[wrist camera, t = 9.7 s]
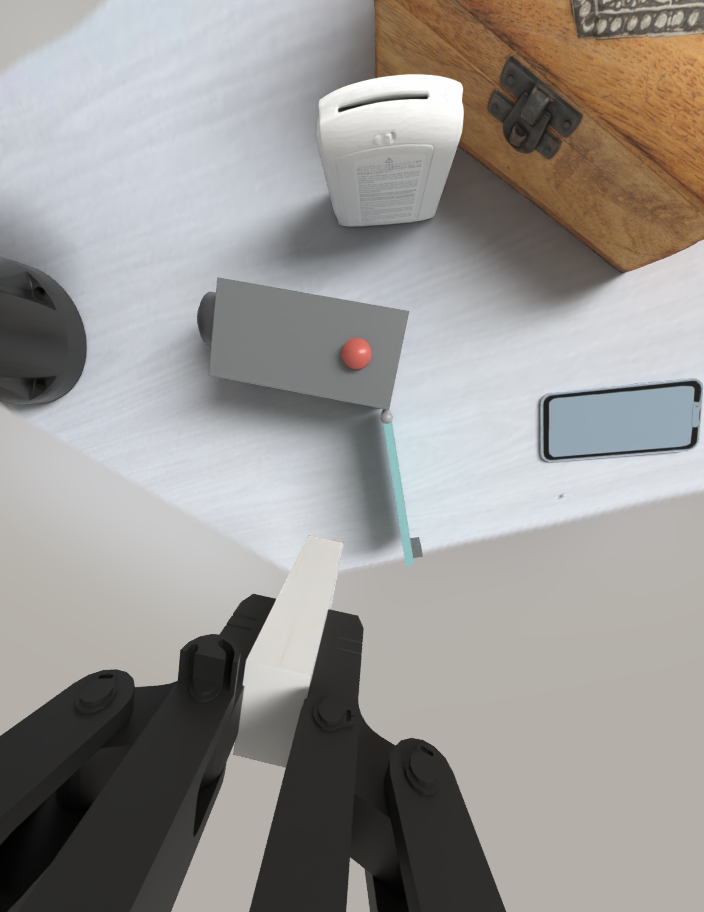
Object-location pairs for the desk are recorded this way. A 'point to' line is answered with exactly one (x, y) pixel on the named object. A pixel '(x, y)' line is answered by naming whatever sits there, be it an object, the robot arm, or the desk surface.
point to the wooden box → (574, 107)
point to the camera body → (302, 342)
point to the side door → (399, 493)
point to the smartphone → (621, 420)
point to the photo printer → (389, 147)
